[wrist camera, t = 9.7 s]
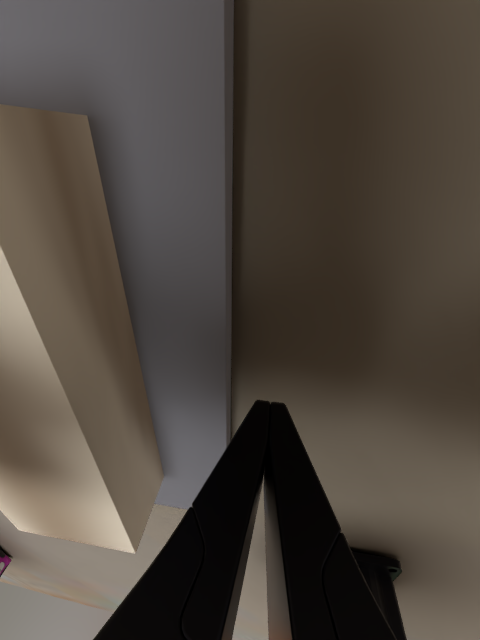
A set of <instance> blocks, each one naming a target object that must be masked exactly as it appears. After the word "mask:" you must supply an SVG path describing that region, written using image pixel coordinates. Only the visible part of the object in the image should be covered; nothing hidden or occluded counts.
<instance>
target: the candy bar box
mask: <svg viewBox="0 0 480 640" xmlns="http://www.w3.org/2000/svg"><path fill="white" fill-rule="evenodd" d="M10 562H11V559H10V558H9V557H8V556H7V555H6V554H5V553H4V552H3V551H2V550H1V549H0V577H1V575H2V574H3V572H4V571H5V569H6V568H7V566H8V565H9V563H10Z"/></svg>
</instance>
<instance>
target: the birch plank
mask: <svg viewBox="0 0 480 640" xmlns="http://www.w3.org/2000/svg"><path fill="white" fill-rule="evenodd" d="M163 478H164V474H163V470H162V465H161V460H160V455H159V451H158V446H157V441H156V437H155V432H154V427H153V423H152V418H151V413H150V408H149V404H148V399H147V394H146V390H145V385H144V380H143V376H142V371H141V366H140V361H139V357H138V352H137V347H136V343H135V338H134V333H133V329H132V324H131V319H130V314H129V310H128V305H127V300H126V296H125V291H124V286H123V282H122V277H121V272H120V267H119V263H118V258H117V253H116V249H115V244H114V239H113V235H112V230H111V225H110V220H109V216H108V211H107V206H106V202H105V197H104V192H103V188H102V183H101V178H100V173H99V169H98V164H97V159H96V155H95V150H94V145H93V141H92V136H91V131H90V127H89V122H88V117H87V115H79V114H72V113H64V112H56V111H48V110H41V109H33V108H25V107H18V106H10V105H2V104H0V510H1V511H2V512H3V514H4V515H5V516H6V517H7V518H8V519H9V520H10V521H11V522H12V523H13V524H14V525H15V527H16V528H17V529H18V530H20V531H25V532H30V533H35V534H40V535H45V536H50V537H55V538H60V539H65V540H70V541H75V542H80V543H85V544H90V545H95V546H100V547H105V548H110V549H115V550H120V551H125V552H130V553H135V554H136V551H137V549H138V546H139V543H140V540H141V538H142V535H143V532H144V530H145V527H146V524H147V521H148V519H149V516H150V513H151V511H152V508H153V505H154V502H155V500H156V497H157V494H158V492H159V489H160V486H161V483H162V481H163Z"/></svg>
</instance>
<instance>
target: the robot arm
mask: <svg viewBox="0 0 480 640" xmlns="http://www.w3.org/2000/svg"><path fill="white" fill-rule="evenodd" d="M263 476H264V510H265V541H266V571H267V602H268V632H269V640H407V639H406V635H405V631H404V627H403V622H402V618H401V614H400V610H399V606H398V601H397V597H396V593H395V589H394V585H393V581H394V580H395V579H396V578H397V577H398V576H399V575H400V573H401V572H402V569H401V565H400V562H399V561H398V560H396V559H391V558H386V557H380V556H374V555H369V554H363V553H358V552H352V551H351V549H350V547H349V545H348V543H347V540H346V538H345V536H344V534H343V533H340V532H341V527H340V525H339V523H338V521H337V519H336V516H335V514H334V512H333V510H332V507H331V505H330V503H329V501H328V498H327V496H326V494H325V492H324V490H323V487H322V485H321V483H320V481H319V478H318V476H317V474H316V472H315V469H314V467H313V465H312V463H311V461H310V458H309V456H308V454H307V452H306V449H305V447H304V445H303V443H302V440H301V438H300V436H299V434H298V431H297V429H296V427H295V425H294V423H293V420H292V418H291V416H290V414H289V411H288V409H287V407H286V405H285V404H284V403H279V402H271V404H270V402H269V401H263V400H257V401H255V403H254V404H253V406H252V408H251V409H250V411H249V412H248V414H247V416H246V417H245V419H244V421H243V422H242V424H241V425H240V427H239V429H238V430H237V432H236V433H235V435H234V437H233V438H232V440H231V441H230V443H229V445H228V446H227V448H226V450H225V451H224V453H223V454H222V456H221V458H220V459H219V461H218V462H217V464H216V466H215V467H214V469H213V470H212V472H211V474H210V475H209V477H208V479H207V480H206V482H205V483H204V485H203V487H202V488H201V490H200V491H199V493H198V495H197V496H196V498H195V499H194V501H193V503H192V507H189V509H188V510H187V512H186V514H185V515H184V517H183V518H182V520H181V522H180V523H179V525H178V526H177V528H176V529H175V531H174V532H173V534H172V535H171V537H170V538H169V540H168V541H167V543H166V544H165V546H164V547H163V549H162V550H161V551H160V553H159V554H158V555H157V557H156V558H155V560H154V561H153V562H152V564H151V565H150V566H149V568H148V569H147V570H146V572H145V573H144V574H143V576H142V577H141V578H140V580H139V581H138V582H137V583H136V585H135V586H134V587H133V589H132V590H131V591H130V593H129V594H128V595H127V596H126V598H125V599H124V600H123V602H122V603H121V604H120V605H119V607H118V608H117V609H116V611H115V612H114V613H113V615H112V616H111V617H110V619H109V620H108V621H107V622H106V624H105V625H104V626H103V627H102V629H101V630H100V631H99V633H98V634H97V635H96V637H95V638H94V639H93V640H232V635H233V630H234V625H235V620H236V615H237V610H238V605H239V600H240V595H241V590H242V585H243V580H244V575H245V569H246V564H247V559H248V554H249V549H250V544H251V539H252V534H253V529H254V524H255V519H256V514H257V509H258V504H259V499H260V494H261V489H262V483H263Z"/></svg>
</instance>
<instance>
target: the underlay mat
mask: <svg viewBox="0 0 480 640" xmlns="http://www.w3.org/2000/svg"><path fill="white" fill-rule="evenodd" d="M233 55H234V0H0V104H2V105H10V106H18V107H25V108H33V109H41V110H48V111H56V112H64V113H72V114H79V115H87V117H88V122H89V127H90V131H91V136H92V141H93V145H94V150H95V155H96V159H97V164H98V169H99V173H100V178H101V183H102V188H103V192H104V197H105V202H106V206H107V211H108V216H109V220H110V225H111V230H112V235H113V239H114V244H115V249H116V253H117V258H118V263H119V267H120V272H121V277H122V282H123V286H124V291H125V296H126V300H127V305H128V310H129V314H130V319H131V324H132V329H133V333H134V338H135V343H136V347H137V352H138V357H139V361H140V366H141V371H142V376H143V380H144V385H145V390H146V394H147V399H148V404H149V408H150V413H151V418H152V423H153V427H154V432H155V437H156V441H157V446H158V451H159V455H160V460H161V465H162V470H163V474H164V478H163V481H162V483H161V486H160V489H159V492H158V494H157V497H156V500H155V502H154V504H159V505H165V506H170V507H176V508H182V509H189V507H192V503H193V501H194V499H195V498H196V496H197V495H198V493H199V491H200V490H201V488H202V487H203V485H204V483H205V482H206V480H207V479H208V477H209V475H210V474H211V472H212V470H213V469H214V467H215V466H216V464H217V462H218V461H219V459H220V458H221V456H222V454H223V453H224V451H225V450H226V448H227V446H228V445H229V443H230V436H231V309H232V182H233Z"/></svg>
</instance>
